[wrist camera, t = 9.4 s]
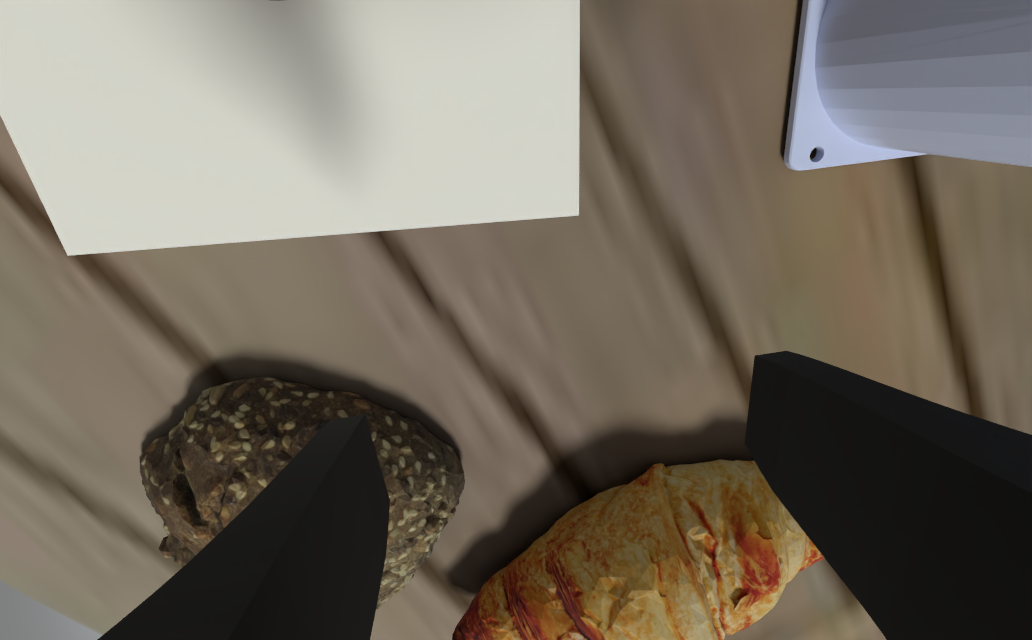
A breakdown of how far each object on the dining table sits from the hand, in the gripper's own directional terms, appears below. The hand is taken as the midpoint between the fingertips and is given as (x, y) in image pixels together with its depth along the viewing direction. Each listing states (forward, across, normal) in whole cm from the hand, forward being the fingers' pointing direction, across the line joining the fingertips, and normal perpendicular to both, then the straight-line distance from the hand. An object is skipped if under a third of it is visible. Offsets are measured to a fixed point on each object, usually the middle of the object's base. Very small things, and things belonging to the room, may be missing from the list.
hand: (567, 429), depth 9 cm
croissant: (+11, -5, +16) cm, 20 cm away
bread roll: (+11, +10, +10) cm, 18 cm away
